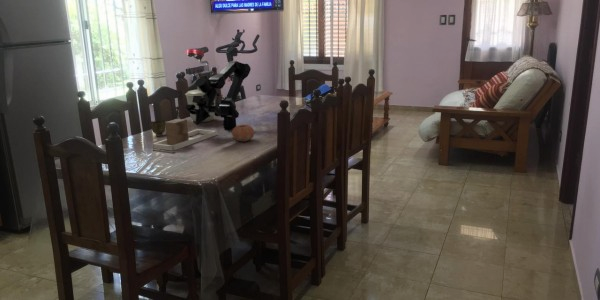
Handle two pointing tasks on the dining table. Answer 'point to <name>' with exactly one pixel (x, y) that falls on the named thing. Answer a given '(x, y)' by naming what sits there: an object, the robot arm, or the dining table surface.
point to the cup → (158, 127)
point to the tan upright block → (176, 131)
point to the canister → (190, 99)
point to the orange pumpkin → (243, 133)
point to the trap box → (164, 145)
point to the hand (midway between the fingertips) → (196, 124)
